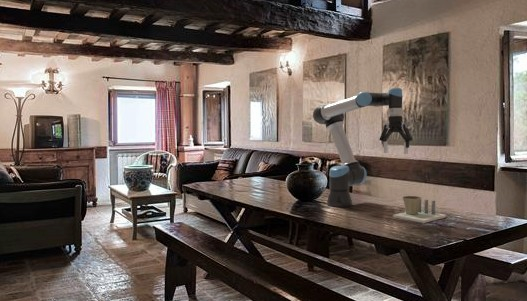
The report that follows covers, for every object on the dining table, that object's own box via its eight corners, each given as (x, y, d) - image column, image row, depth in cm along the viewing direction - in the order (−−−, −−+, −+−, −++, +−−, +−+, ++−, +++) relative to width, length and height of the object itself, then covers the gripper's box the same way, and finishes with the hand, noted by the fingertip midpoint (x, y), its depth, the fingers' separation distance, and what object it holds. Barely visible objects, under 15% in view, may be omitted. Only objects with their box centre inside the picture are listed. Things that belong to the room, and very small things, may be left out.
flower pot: (408, 216, 220) (408, 199, 220) (398, 212, 229) (398, 196, 229) (424, 214, 222) (424, 198, 222) (414, 211, 231) (414, 195, 231)
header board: (392, 217, 224) (392, 201, 224) (414, 212, 236) (414, 197, 236) (424, 222, 210) (424, 206, 209) (446, 217, 222) (446, 201, 222)
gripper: (373, 116, 252) (373, 152, 253) (411, 115, 232) (411, 154, 233) (381, 116, 257) (381, 152, 258) (419, 115, 237) (419, 153, 238)
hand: (395, 153), depth 246 cm, fingers open, 13 cm apart
